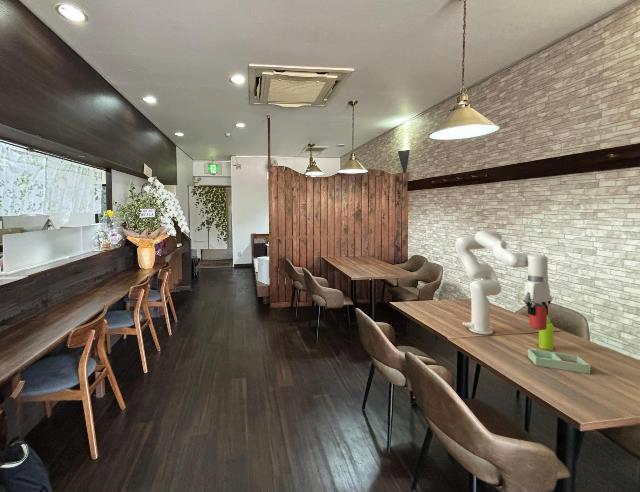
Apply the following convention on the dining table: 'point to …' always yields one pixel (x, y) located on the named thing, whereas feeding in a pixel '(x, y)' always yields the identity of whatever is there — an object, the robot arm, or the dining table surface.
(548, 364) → the divided tray
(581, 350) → the dining table surface
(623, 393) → the dining table surface
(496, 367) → the dining table surface
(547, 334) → the soap dispenser
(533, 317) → the beer can
